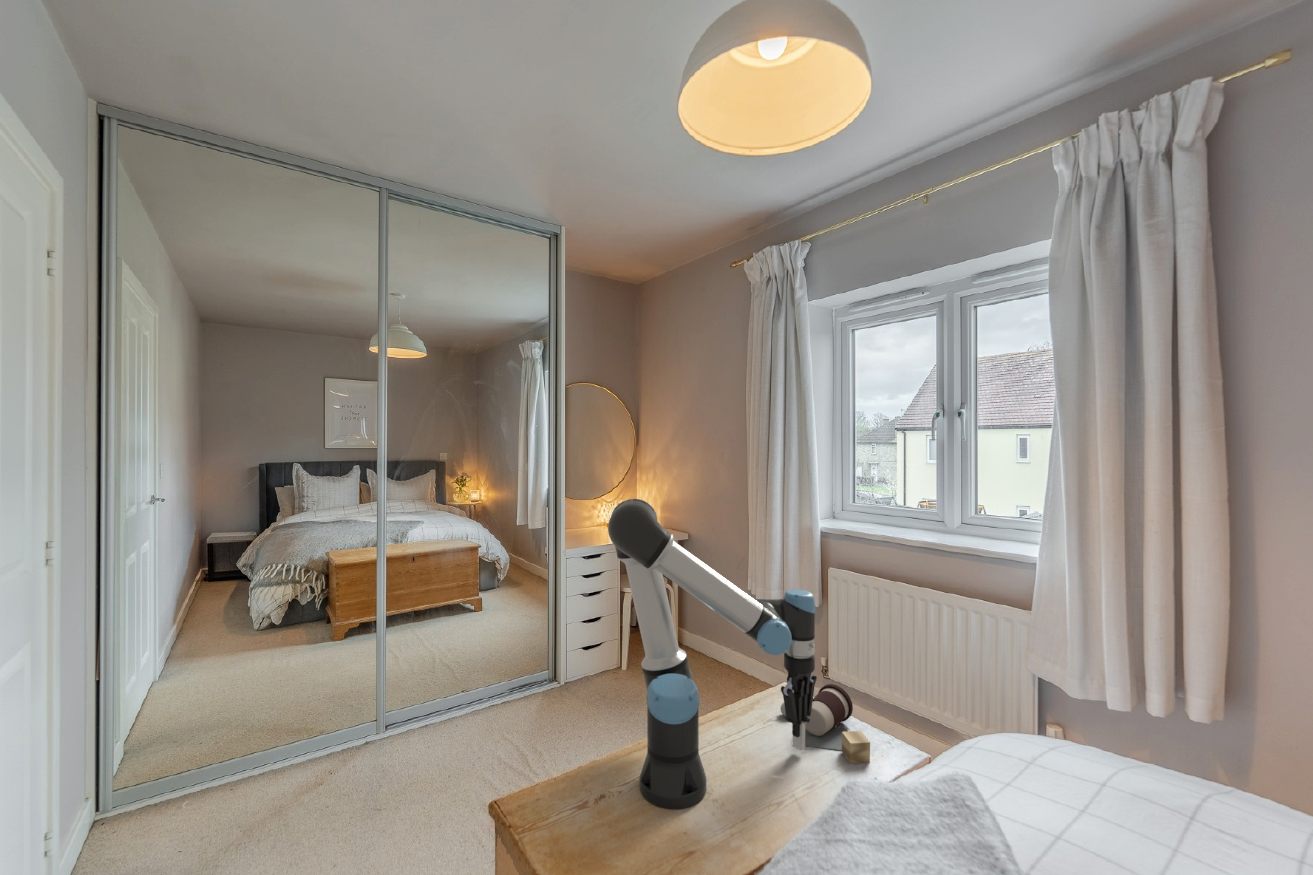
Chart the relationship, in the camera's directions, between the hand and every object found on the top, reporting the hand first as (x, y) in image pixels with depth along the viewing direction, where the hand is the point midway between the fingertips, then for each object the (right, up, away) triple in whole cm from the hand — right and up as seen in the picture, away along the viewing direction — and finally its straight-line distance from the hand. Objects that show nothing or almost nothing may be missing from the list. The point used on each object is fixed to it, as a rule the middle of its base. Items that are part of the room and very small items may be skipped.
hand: (798, 747), depth 142 cm
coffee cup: (+6, +2, +8) cm, 10 cm away
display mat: (+9, -2, +8) cm, 12 cm away
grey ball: (+2, -2, +20) cm, 20 cm away
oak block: (+14, -2, -1) cm, 14 cm away
